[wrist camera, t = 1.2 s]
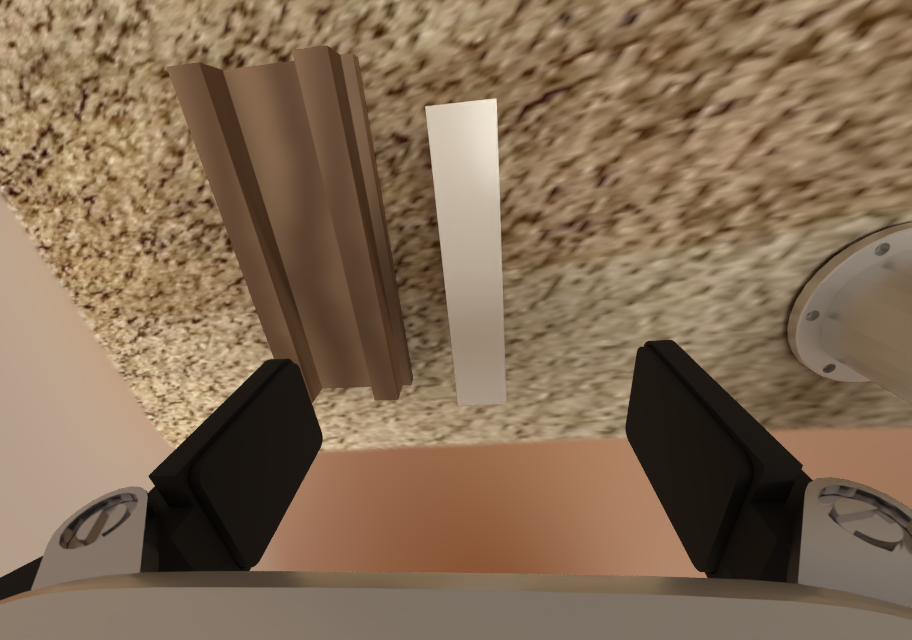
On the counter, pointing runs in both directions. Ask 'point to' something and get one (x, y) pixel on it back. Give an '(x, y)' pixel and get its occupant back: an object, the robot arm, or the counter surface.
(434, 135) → the white rectangular slab
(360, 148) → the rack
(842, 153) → the counter surface
